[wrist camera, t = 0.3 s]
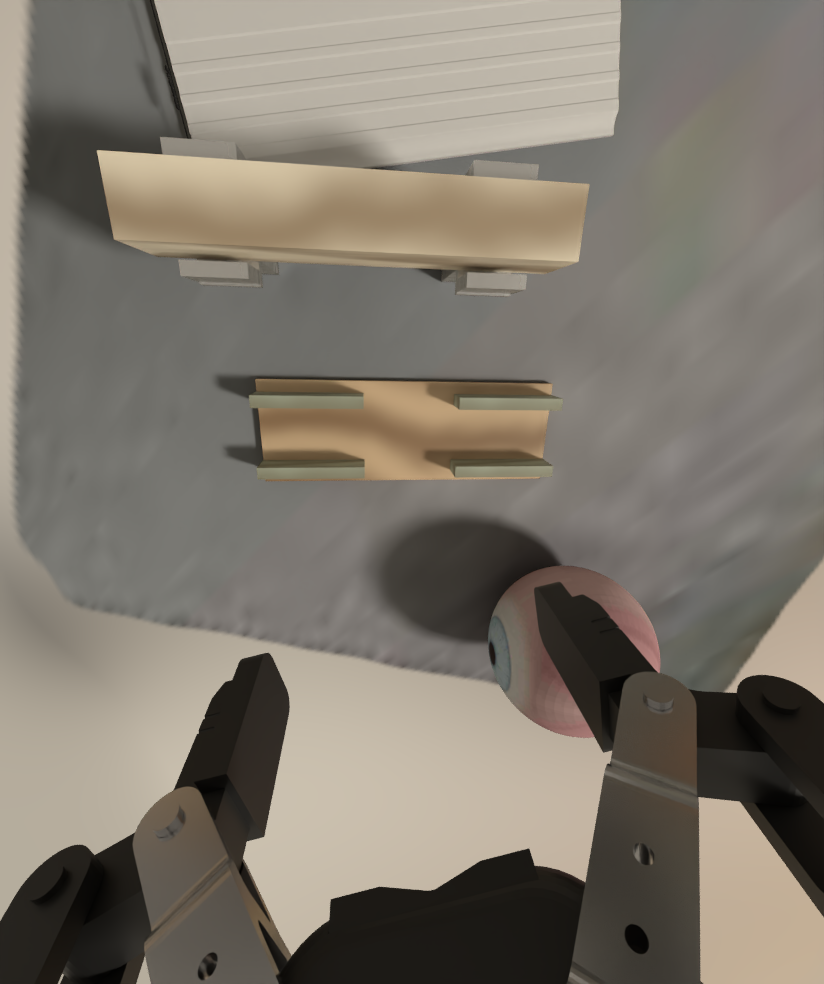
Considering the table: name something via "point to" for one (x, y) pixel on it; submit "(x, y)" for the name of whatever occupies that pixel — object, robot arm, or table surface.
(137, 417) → the table surface
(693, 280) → the table surface
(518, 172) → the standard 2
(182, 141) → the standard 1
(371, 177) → the rail
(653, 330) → the table surface
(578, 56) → the baseboard
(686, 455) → the table surface
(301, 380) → the rack
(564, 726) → the eyeball
